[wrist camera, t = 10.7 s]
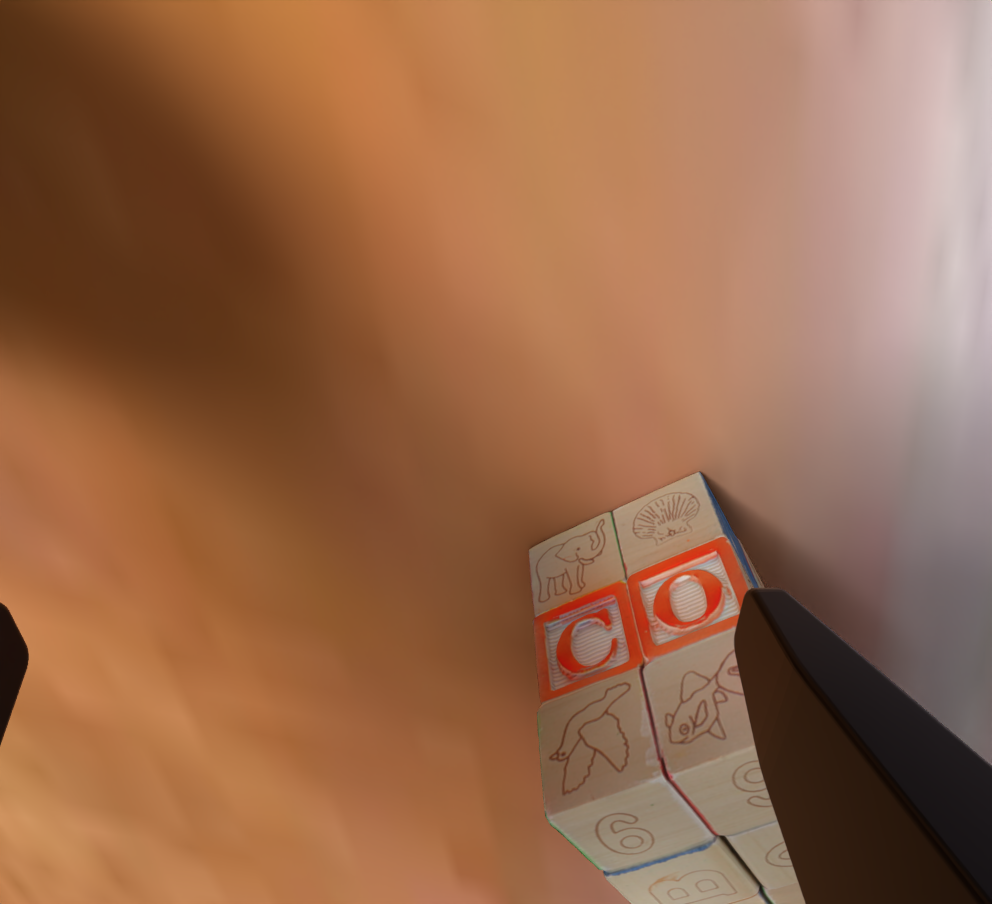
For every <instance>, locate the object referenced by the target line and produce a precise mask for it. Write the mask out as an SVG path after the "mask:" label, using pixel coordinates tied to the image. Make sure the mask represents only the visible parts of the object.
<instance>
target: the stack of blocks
mask: <svg viewBox="0 0 992 904" xmlns="http://www.w3.org/2000/svg"><path fill="white" fill-rule="evenodd" d="M529 565H530V580H531V589H532V597H533V606H534V614H535V619H534V620H533V630H534V640H535V651H536V662H537V676H538V685H539V694H540V701H541V706H540V708H539V709H538V712H537V723H538V736H539V752H540V763H541V775H542V787H543V799H544V808H545V816H546V818H547V820H548V822H549V823H550V825H551V826H552V827H554V828H555V829H556V830H557V831H558V832H560V833H561V834H562V835H563V836H564V837H565V838H566V839H567V840H568V841H569V842H570V843H571V844H572V845H574V846H575V847H576V848H577V849H578V850H579V851H580V852H581V853H582V854H583V855H584V856H585V857H586V858H587V859H588V860H589V861H590V862H592V863H593V864H594V865H595V866H596V867H597V868H598V869H600V870H603V872H604V876H605V878H606V879H607V881H608V882H609V883H611V884H612V885H613V886H614V887H615V888H616V889H617V890H618V891H619V892H620V893H621V894H622V895H623V896H624V897H625V898H626V899H627V900H628V901H629V902H630V903H631V904H805V901H804V898H803V895H802V892H801V889H800V886H799V883H798V880H797V877H796V874H795V871H794V868H793V865H792V862H791V860H790V857H789V854H788V851H787V848H786V845H785V842H784V839H783V836H782V833H781V830H780V827H779V824H778V821H777V818H776V815H775V812H774V809H773V806H772V803H771V800H770V797H769V794H768V791H767V788H766V785H765V782H764V779H763V775H762V772H761V769H760V765H759V761H758V757H757V752H756V748H755V744H754V739H753V734H752V730H751V725H750V720H749V716H748V711H747V707H746V702H745V697H744V693H743V688H742V683H741V679H740V674H739V670H738V665H737V660H736V656H735V650H734V634H735V630H736V626H737V622H738V618H739V614H740V610H741V606H742V602H743V598H744V595H745V593H746V592H747V590H749V589H751V588H765V587H764V585H763V583H762V581H761V579H760V578H759V576H758V574H757V572H756V570H755V568H754V566H753V564H752V562H751V561H750V559H749V557H748V555H747V553H746V551H745V549H744V547H743V545H742V544H741V542H740V540H739V539H738V538H737V537H736V536H735V534H734V532H733V531H732V529H731V527H730V525H729V523H728V521H727V519H726V517H725V515H724V513H723V512H722V510H721V508H720V506H719V504H718V502H717V500H716V499H715V497H714V495H713V493H712V491H711V490H710V488H709V486H708V484H707V482H706V480H705V479H704V477H703V475H702V474H701V473H700V472H697V473H695V474H692V475H690V476H688V477H685V478H683V479H681V480H679V481H676V482H674V483H672V484H669V485H667V486H665V487H663V488H660V489H658V490H656V491H654V492H652V493H650V494H647V495H645V496H643V497H641V498H639V499H637V500H634V501H632V502H630V503H628V504H626V505H624V506H621V507H619V508H617V509H616V510H614V511H612V512H606V513H604V514H601V515H599V516H597V517H595V518H593V519H591V520H589V521H586V522H584V523H582V524H580V525H578V526H576V527H574V528H572V529H569V530H567V531H565V532H563V533H560V534H558V535H556V536H554V537H552V538H550V539H548V540H546V541H544V542H542V543H540V544H538V545H536V546H534V547H533V548H531V549H530V550H529Z"/></svg>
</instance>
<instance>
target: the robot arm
mask: <svg viewBox="0 0 992 904" xmlns="http://www.w3.org/2000/svg"><path fill="white" fill-rule="evenodd" d="M734 650H735V656H736V660H737V665H738V670H739V674H740V679H741V683H742V688H743V693H744V697H745V702H746V707H747V711H748V716H749V720H750V725H751V730H752V734H753V739H754V744H755V748H756V752H757V757H758V761H759V765H760V769H761V772H762V775H763V779H764V782H765V785H766V788H767V791H768V794H769V797H770V800H771V803H772V806H773V809H774V812H775V815H776V818H777V821H778V824H779V827H780V830H781V833H782V836H783V839H784V842H785V845H786V848H787V851H788V854H789V857H790V860H791V862H792V865H793V868H794V871H795V874H796V877H797V880H798V883H799V886H800V889H801V892H802V895H803V898H804V901H805V904H992V766H991V765H990V764H989V763H988V762H986V761H985V760H984V759H983V758H982V757H980V756H979V755H978V754H977V753H976V752H975V751H973V750H972V749H971V748H970V747H969V746H968V745H966V744H965V743H964V742H963V741H962V740H960V739H959V738H958V737H957V736H956V735H955V734H953V733H952V732H951V731H950V730H949V729H948V728H946V727H945V726H944V725H943V724H942V723H940V722H939V721H938V720H937V719H936V718H935V717H933V716H932V715H931V714H930V713H929V712H928V711H926V710H925V709H924V708H923V707H922V706H921V705H919V704H918V703H917V702H916V701H915V700H913V699H912V698H911V697H910V696H909V695H908V694H906V693H905V692H904V691H903V690H902V689H901V688H899V687H898V686H897V685H896V684H895V683H893V682H892V681H891V680H890V679H889V678H888V677H886V676H885V675H884V674H883V673H882V672H881V671H879V670H878V669H877V668H876V667H875V666H873V665H872V664H871V663H870V662H869V661H868V660H866V659H865V658H864V657H863V656H862V655H861V654H859V653H858V652H857V651H856V650H855V649H854V648H852V647H851V646H850V645H849V644H848V643H846V642H845V641H844V640H843V639H842V638H841V637H839V636H838V635H837V634H836V633H835V632H834V631H832V630H831V629H830V628H829V627H828V626H826V625H825V624H824V623H823V622H822V621H821V620H819V619H818V618H817V617H816V616H815V615H814V614H812V613H811V612H810V611H809V610H808V609H806V608H805V607H804V606H803V605H802V604H801V603H799V602H798V601H797V600H796V599H795V598H794V597H792V596H791V595H790V594H789V593H788V592H786V591H785V590H783V589H781V588H777V587H772V588H751V589H749V590H747V592H746V593H745V595H744V598H743V602H742V606H741V610H740V614H739V618H738V622H737V626H736V630H735V634H734ZM28 660H29V654H28V648H27V645H26V643H25V641H24V639H23V637H22V635H21V633H20V631H19V629H18V627H17V625H16V623H15V621H14V619H13V617H12V615H11V614H10V612H9V610H8V608H7V607H6V606H5V605H3V604H2V603H0V745H1V742H2V739H3V736H4V733H5V731H6V728H7V725H8V722H9V719H10V716H11V713H12V710H13V707H14V704H15V702H16V699H17V696H18V693H19V690H20V687H21V684H22V681H23V678H24V675H25V673H26V670H27V666H28Z"/></svg>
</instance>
